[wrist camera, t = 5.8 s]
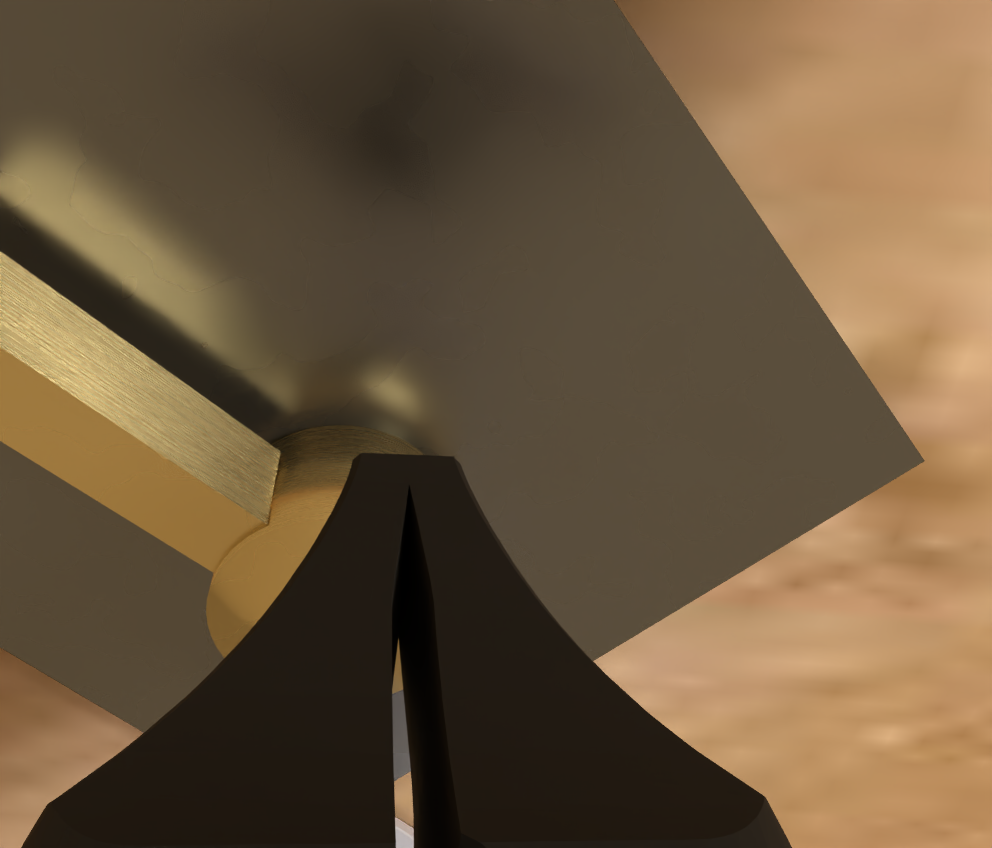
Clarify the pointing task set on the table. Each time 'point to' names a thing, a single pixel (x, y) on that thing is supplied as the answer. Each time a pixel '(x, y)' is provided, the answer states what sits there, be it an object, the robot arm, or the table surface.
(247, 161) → the base plate
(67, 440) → the brass door handle
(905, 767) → the table surface
